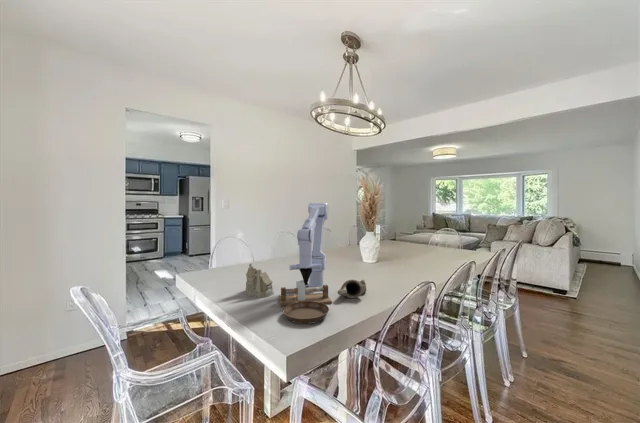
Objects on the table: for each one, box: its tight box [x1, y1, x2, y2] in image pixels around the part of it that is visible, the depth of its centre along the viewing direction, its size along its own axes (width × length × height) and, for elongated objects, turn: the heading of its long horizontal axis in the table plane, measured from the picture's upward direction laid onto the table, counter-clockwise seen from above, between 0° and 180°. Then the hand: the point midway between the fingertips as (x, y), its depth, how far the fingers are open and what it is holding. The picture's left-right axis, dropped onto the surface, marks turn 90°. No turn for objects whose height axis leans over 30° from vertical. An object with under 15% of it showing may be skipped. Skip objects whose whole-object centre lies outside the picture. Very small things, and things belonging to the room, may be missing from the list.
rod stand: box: [278, 284, 333, 308], centre depth 127 cm, size 12×22×6 cm, turn 102°
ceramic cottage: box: [244, 263, 275, 299], centre depth 141 cm, size 16×16×15 cm
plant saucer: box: [282, 301, 330, 325], centre depth 110 cm, size 18×18×3 cm
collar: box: [295, 279, 306, 301], centre depth 127 cm, size 7×3×7 cm, turn 12°
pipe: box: [337, 279, 367, 299], centre depth 134 cm, size 16×9×15 cm
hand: (305, 284), depth 130 cm, fingers closed
